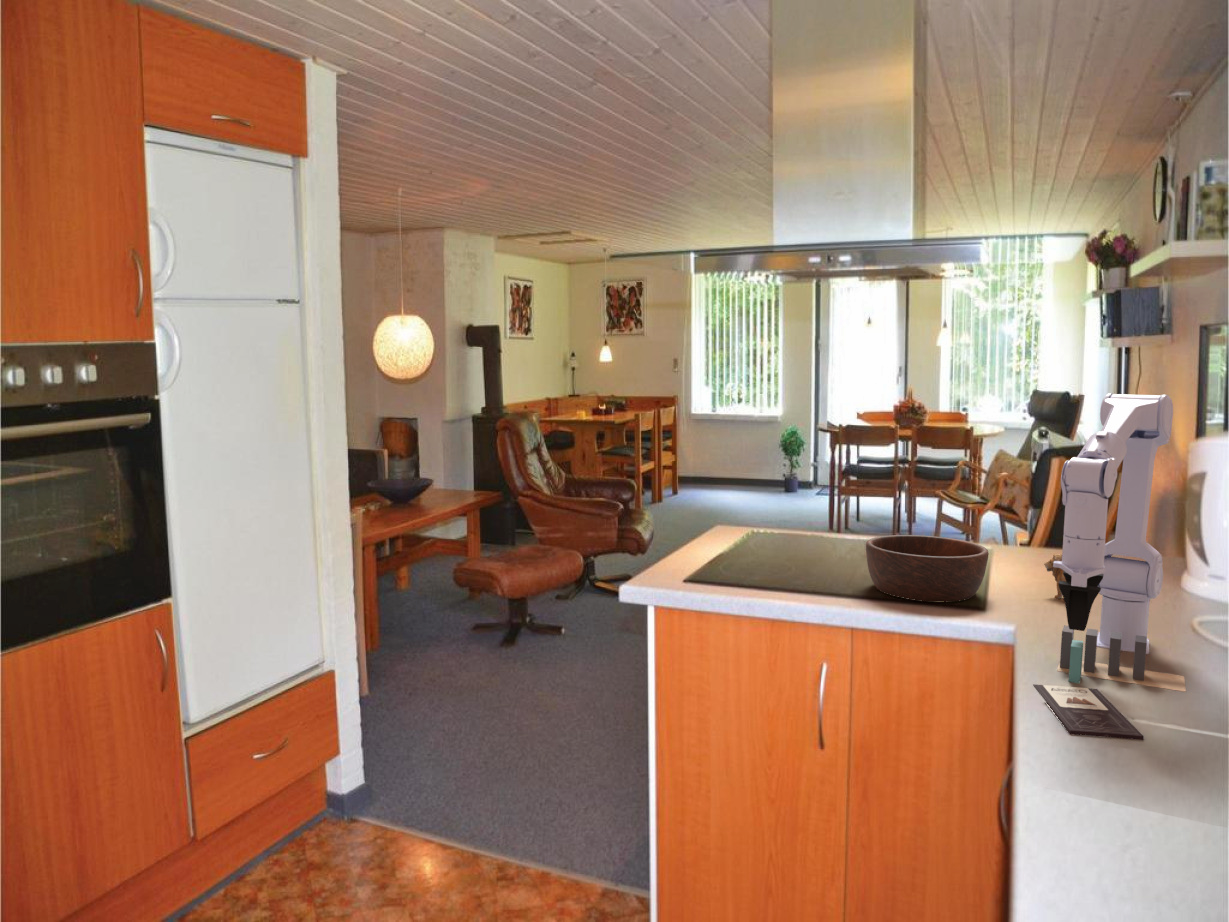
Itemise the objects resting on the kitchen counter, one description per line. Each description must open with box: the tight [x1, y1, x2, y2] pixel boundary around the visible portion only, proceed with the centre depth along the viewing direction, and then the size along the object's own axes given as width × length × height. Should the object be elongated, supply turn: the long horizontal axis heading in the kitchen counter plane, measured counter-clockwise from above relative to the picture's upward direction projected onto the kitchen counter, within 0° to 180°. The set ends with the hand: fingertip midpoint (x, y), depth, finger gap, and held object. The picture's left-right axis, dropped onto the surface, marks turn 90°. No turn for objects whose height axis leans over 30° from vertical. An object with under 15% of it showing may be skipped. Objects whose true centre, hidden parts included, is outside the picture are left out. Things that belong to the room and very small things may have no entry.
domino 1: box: [1059, 625, 1075, 669], centre depth 148 cm, size 2×4×6 cm, turn 150°
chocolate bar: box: [1032, 684, 1145, 741], centre depth 129 cm, size 9×1×18 cm
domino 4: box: [1108, 632, 1122, 677], centre depth 144 cm, size 2×4×6 cm, turn 150°
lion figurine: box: [1043, 553, 1066, 599], centre depth 190 cm, size 15×5×9 cm, turn 0°
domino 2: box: [1068, 639, 1084, 684], centre depth 141 cm, size 2×4×6 cm, turn 150°
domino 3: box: [1083, 627, 1099, 673], centre depth 146 cm, size 2×4×6 cm, turn 150°
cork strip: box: [1056, 660, 1187, 693], centre depth 144 cm, size 8×17×1 cm, turn 60°
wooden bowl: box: [865, 534, 990, 603], centre depth 197 cm, size 25×25×10 cm
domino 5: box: [1132, 635, 1148, 681], centre depth 143 cm, size 2×4×6 cm, turn 150°
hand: (1078, 623), depth 141 cm, fingers open, 7 cm apart
